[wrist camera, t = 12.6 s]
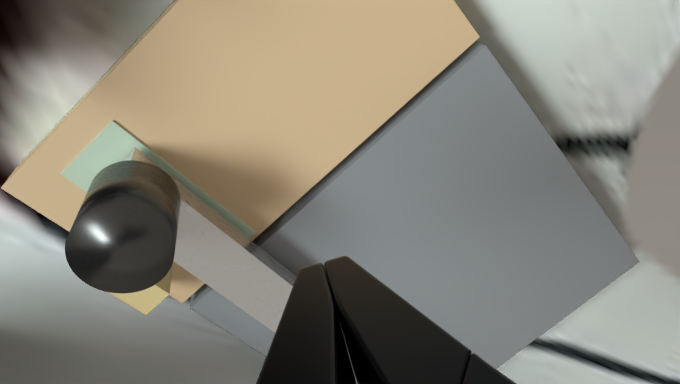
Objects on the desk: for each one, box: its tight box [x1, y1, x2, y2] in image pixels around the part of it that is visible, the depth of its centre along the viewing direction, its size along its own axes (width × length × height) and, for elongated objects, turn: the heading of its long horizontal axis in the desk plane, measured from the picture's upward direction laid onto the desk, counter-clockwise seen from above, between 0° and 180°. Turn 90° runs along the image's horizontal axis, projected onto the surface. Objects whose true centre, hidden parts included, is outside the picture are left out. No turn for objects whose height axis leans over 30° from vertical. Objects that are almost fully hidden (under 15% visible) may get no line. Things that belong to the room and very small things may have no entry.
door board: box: [1, 0, 640, 384], centre depth 21 cm, size 15×22×4 cm
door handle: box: [65, 147, 349, 354], centre depth 19 cm, size 12×3×4 cm, turn 40°
